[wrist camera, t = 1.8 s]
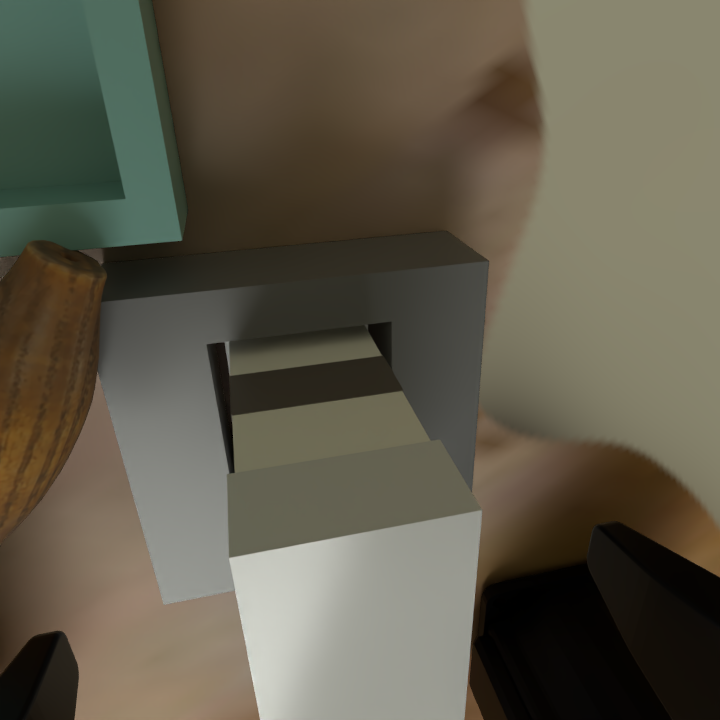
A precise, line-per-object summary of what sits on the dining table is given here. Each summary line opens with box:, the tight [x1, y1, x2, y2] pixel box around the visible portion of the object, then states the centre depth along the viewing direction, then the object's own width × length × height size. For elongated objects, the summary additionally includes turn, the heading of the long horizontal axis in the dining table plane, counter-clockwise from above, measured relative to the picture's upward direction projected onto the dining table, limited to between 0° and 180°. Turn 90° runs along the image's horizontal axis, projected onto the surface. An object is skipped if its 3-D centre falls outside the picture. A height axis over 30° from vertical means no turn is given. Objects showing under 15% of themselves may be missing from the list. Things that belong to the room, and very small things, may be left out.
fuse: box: [224, 325, 482, 720], centre depth 12 cm, size 3×5×8 cm, turn 2°
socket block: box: [97, 231, 489, 605], centre depth 14 cm, size 8×8×2 cm
